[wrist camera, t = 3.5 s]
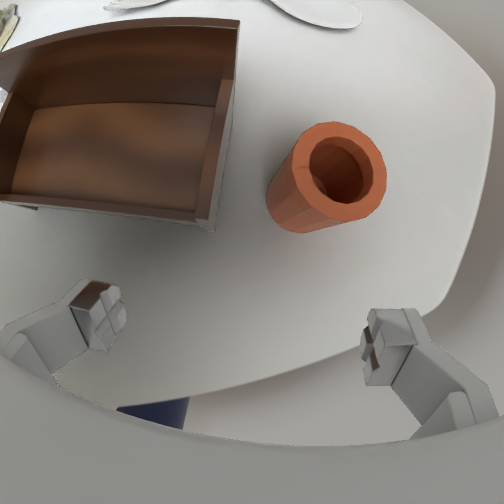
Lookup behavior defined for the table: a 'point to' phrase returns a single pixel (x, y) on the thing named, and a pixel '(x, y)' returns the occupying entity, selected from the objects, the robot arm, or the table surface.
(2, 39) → the pie
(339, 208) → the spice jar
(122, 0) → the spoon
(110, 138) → the box
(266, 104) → the table surface
